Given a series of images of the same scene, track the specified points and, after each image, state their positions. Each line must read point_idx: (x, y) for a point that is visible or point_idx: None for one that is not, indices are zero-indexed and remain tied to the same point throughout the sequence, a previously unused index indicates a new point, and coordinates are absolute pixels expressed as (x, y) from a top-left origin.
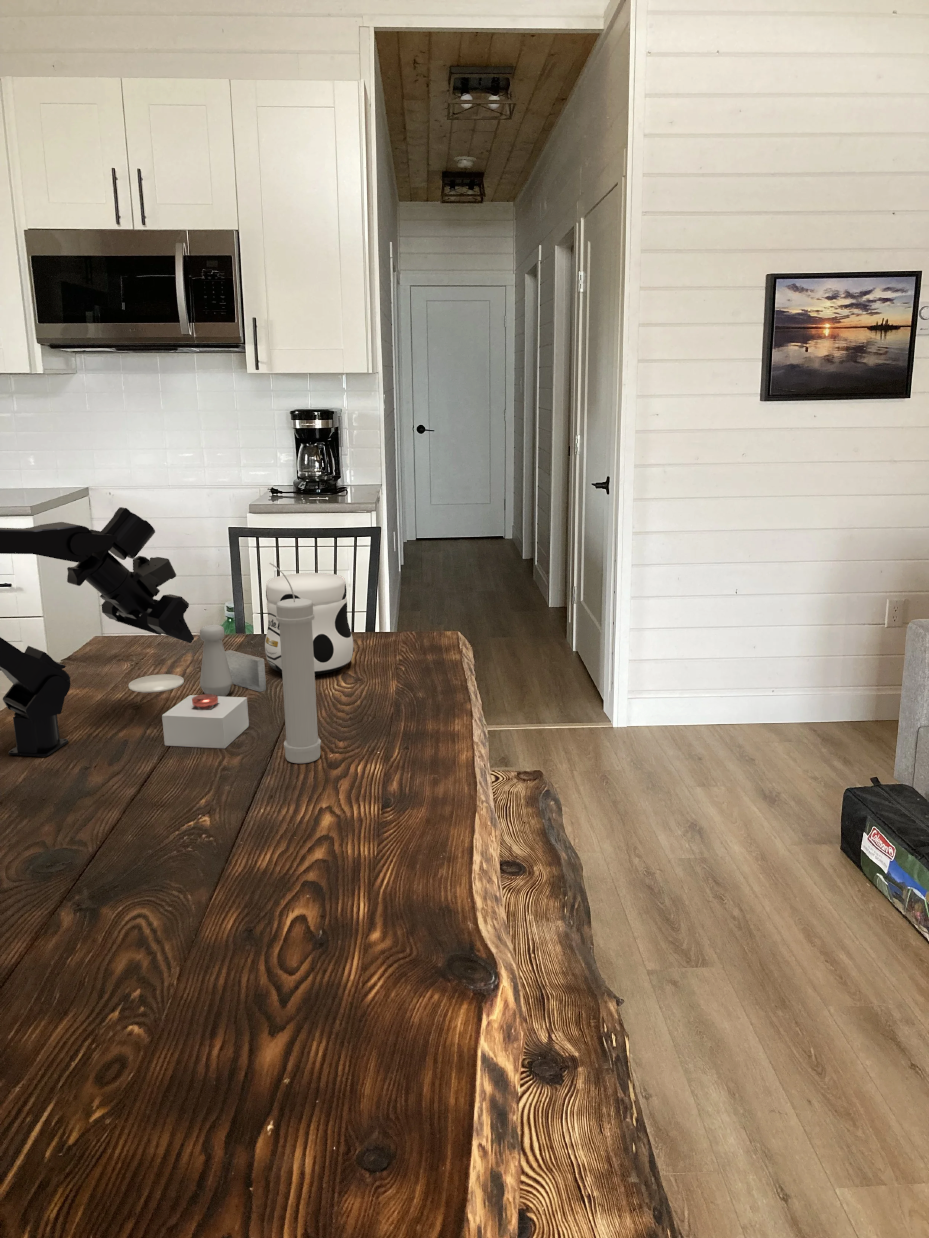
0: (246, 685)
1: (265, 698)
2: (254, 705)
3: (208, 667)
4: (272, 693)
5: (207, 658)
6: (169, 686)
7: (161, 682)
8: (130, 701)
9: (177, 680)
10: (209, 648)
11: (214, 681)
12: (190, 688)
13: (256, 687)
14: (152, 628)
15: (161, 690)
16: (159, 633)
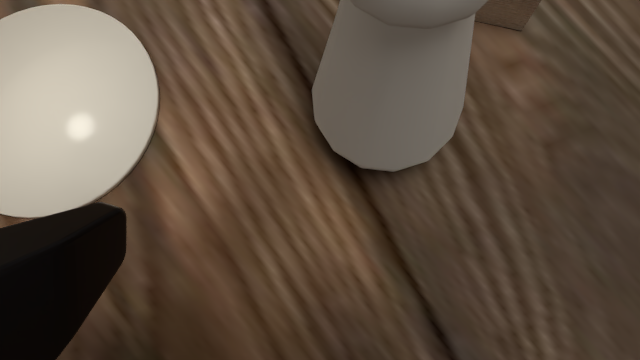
0: None
1: (599, 84)
2: (623, 171)
3: (409, 118)
4: (580, 26)
5: (408, 91)
6: (135, 128)
7: (68, 100)
8: (79, 334)
9: (118, 54)
10: (428, 46)
11: (432, 145)
12: (221, 97)
13: (507, 18)
14: (33, 344)
15: (127, 174)
16: (111, 266)
